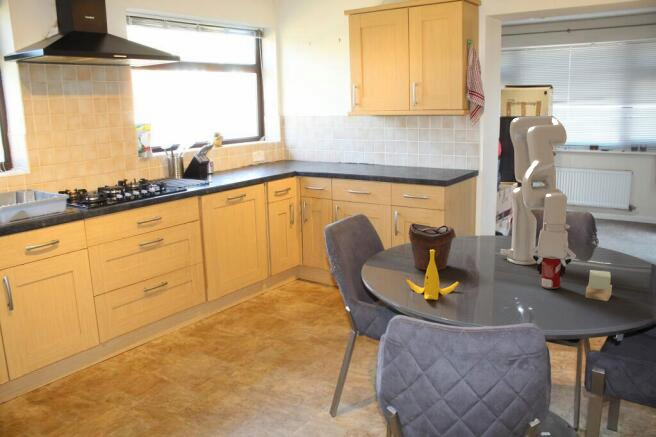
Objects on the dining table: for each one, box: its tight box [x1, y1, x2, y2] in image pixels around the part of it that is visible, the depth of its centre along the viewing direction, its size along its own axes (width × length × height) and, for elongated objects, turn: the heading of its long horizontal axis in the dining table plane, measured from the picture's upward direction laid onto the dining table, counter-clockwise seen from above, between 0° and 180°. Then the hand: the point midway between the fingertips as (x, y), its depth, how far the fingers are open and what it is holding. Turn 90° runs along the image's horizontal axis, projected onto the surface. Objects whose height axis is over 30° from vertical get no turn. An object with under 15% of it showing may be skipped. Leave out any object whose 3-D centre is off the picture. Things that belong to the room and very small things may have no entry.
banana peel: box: [406, 250, 460, 301], centre depth 211 cm, size 17×19×17 cm
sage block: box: [588, 269, 612, 290], centre depth 205 cm, size 6×6×4 cm
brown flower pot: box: [408, 222, 457, 271], centre depth 242 cm, size 18×20×18 cm
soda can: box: [540, 257, 562, 290], centre depth 215 cm, size 7×7×12 cm
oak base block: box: [585, 283, 613, 302], centre depth 206 cm, size 7×7×4 cm
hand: (551, 274), depth 215 cm, fingers closed on soda can, 6 cm apart
